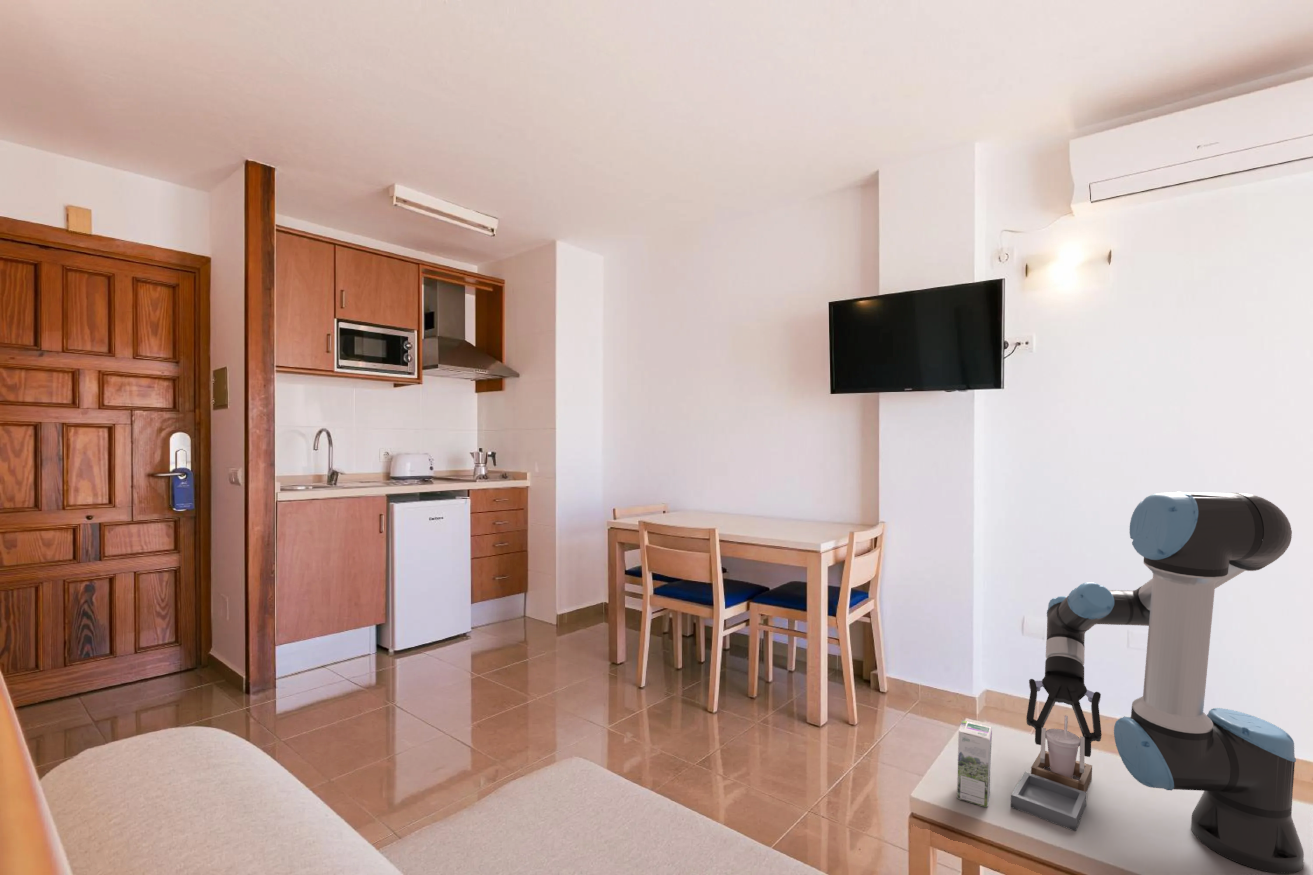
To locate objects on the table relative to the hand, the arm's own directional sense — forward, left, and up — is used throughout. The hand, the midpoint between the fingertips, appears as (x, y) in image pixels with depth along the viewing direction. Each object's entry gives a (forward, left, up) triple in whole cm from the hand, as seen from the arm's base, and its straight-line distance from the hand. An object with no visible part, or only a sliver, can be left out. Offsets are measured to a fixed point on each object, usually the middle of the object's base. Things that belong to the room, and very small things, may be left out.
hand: (1061, 765), depth 135 cm
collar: (+1, -4, -5) cm, 6 cm away
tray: (+1, +8, -5) cm, 10 cm away
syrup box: (+13, +15, -5) cm, 21 cm away
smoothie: (+1, -4, -5) cm, 6 cm away
